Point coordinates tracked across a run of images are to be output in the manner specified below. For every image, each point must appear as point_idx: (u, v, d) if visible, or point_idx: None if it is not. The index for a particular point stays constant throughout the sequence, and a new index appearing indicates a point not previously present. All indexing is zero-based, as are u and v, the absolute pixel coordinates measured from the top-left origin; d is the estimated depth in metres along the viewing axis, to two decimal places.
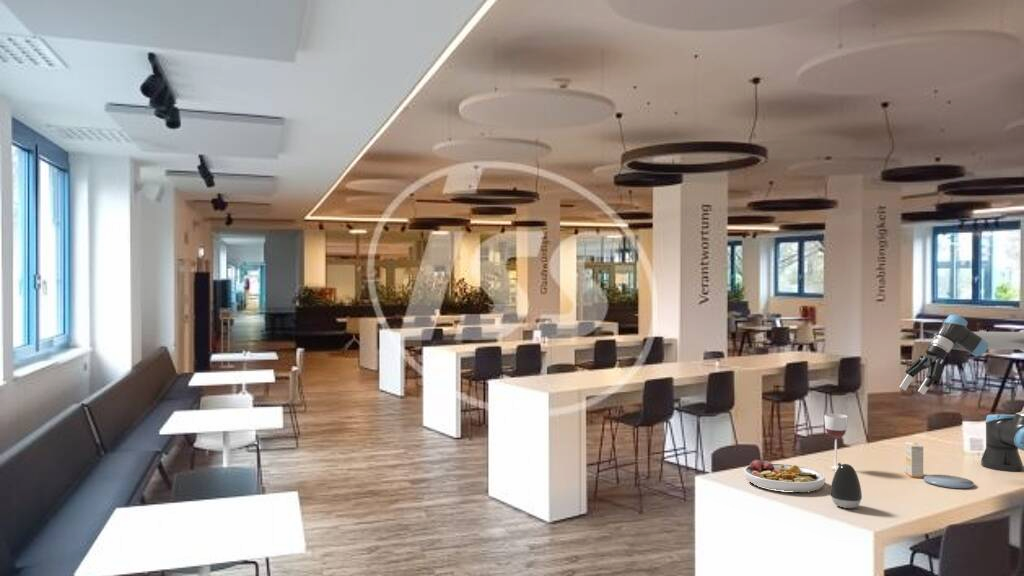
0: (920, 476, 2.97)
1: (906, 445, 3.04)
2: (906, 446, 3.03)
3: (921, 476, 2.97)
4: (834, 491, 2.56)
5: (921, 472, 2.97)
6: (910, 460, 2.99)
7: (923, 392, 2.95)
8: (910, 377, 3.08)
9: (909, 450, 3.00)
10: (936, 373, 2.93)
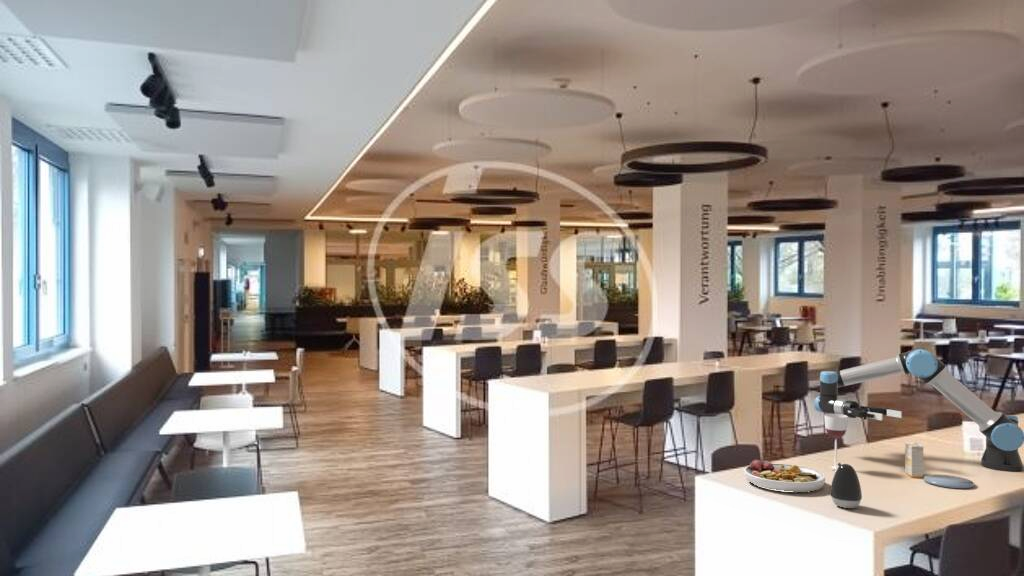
0: (920, 476, 2.97)
1: (906, 445, 3.04)
2: (906, 446, 3.03)
3: (921, 476, 2.97)
4: (834, 491, 2.56)
5: (921, 472, 2.97)
6: (910, 460, 2.99)
7: (880, 415, 3.06)
8: (888, 412, 3.18)
9: (909, 450, 3.00)
10: (857, 415, 3.13)
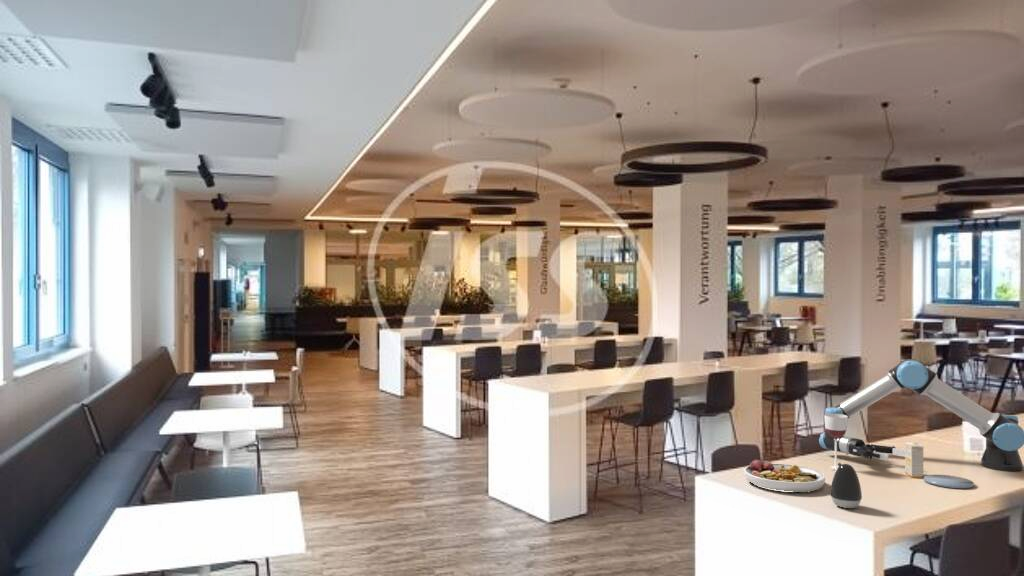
0: (920, 476, 2.97)
1: (906, 445, 3.04)
2: (906, 446, 3.03)
3: (921, 476, 2.97)
4: (834, 491, 2.56)
5: (921, 472, 2.97)
6: (910, 460, 2.99)
7: (885, 456, 3.04)
8: (893, 451, 3.15)
9: (909, 450, 3.00)
10: (863, 454, 3.10)
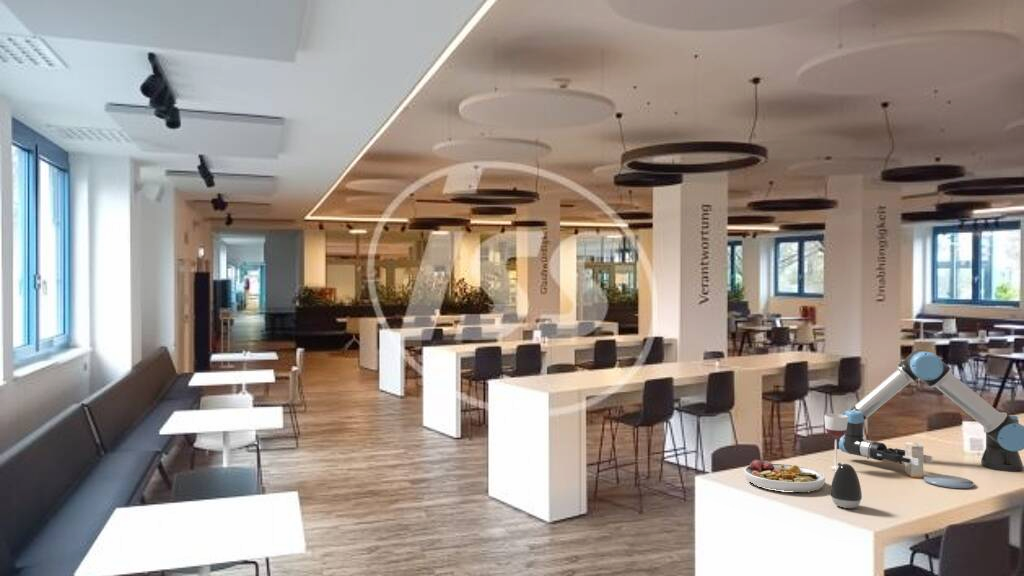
0: (920, 476, 2.97)
1: (906, 445, 3.04)
2: (906, 446, 3.03)
3: (921, 476, 2.97)
4: (834, 491, 2.56)
5: (921, 472, 2.97)
6: None
7: (916, 460, 2.95)
8: None
9: (909, 450, 3.00)
10: (891, 459, 3.01)
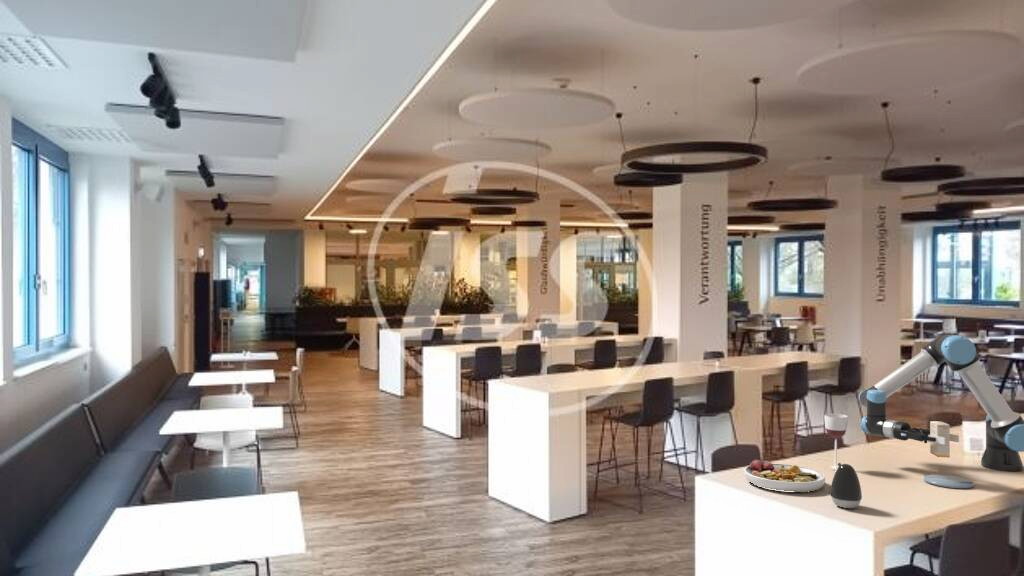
0: (946, 455, 2.87)
1: (931, 424, 2.94)
2: (931, 425, 2.94)
3: (947, 455, 2.87)
4: (834, 491, 2.56)
5: (948, 451, 2.87)
6: None
7: (942, 439, 2.85)
8: None
9: (934, 429, 2.91)
10: (916, 438, 2.92)
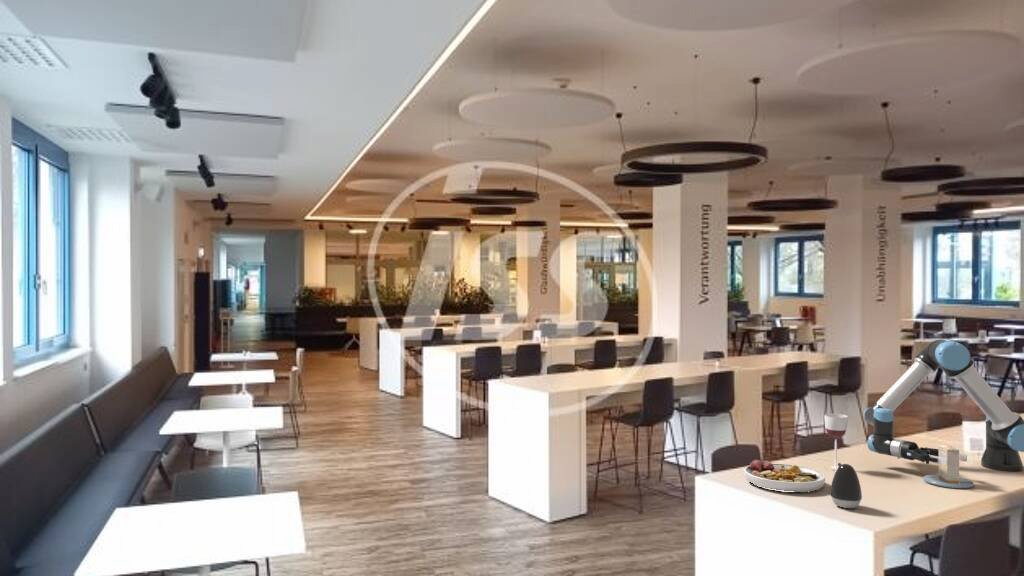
0: (956, 480, 2.85)
1: (940, 448, 2.91)
2: (940, 449, 2.91)
3: (957, 480, 2.85)
4: (834, 491, 2.56)
5: (957, 476, 2.85)
6: None
7: (944, 460, 2.83)
8: None
9: (943, 453, 2.88)
10: (919, 459, 2.90)
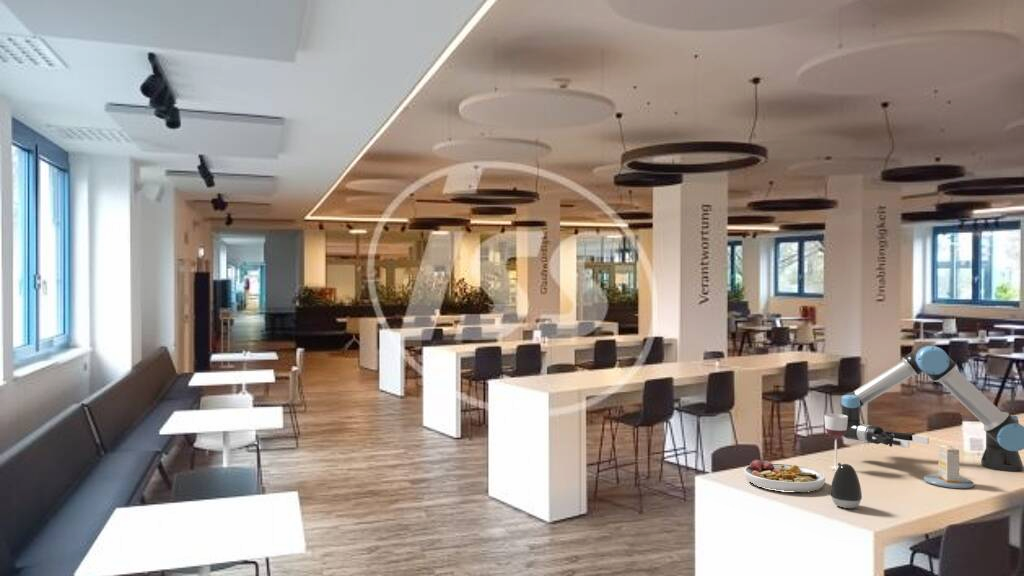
0: (956, 480, 2.85)
1: (940, 448, 2.91)
2: (940, 449, 2.91)
3: (957, 480, 2.85)
4: (834, 491, 2.56)
5: (957, 476, 2.85)
6: (945, 464, 2.86)
7: (906, 442, 2.96)
8: (913, 438, 3.07)
9: (943, 453, 2.88)
10: (883, 442, 3.03)
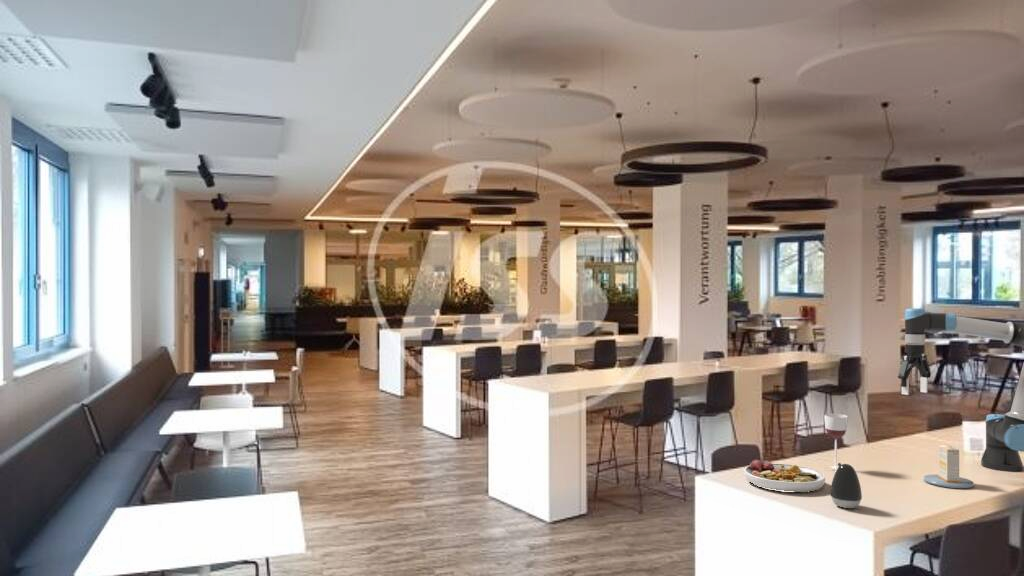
0: (956, 480, 2.85)
1: (940, 448, 2.91)
2: (940, 449, 2.91)
3: (957, 480, 2.85)
4: (834, 491, 2.56)
5: (957, 476, 2.85)
6: (945, 464, 2.86)
7: (905, 393, 3.07)
8: (923, 379, 3.14)
9: (943, 453, 2.88)
10: (900, 372, 3.07)
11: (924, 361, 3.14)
